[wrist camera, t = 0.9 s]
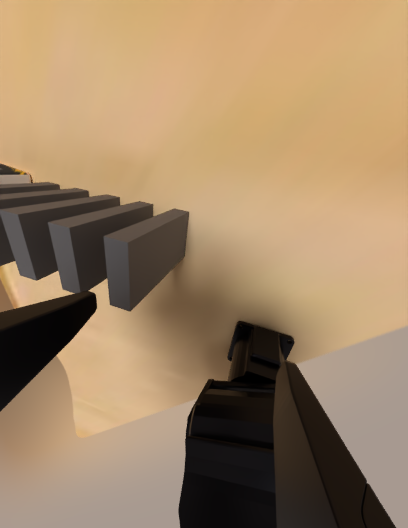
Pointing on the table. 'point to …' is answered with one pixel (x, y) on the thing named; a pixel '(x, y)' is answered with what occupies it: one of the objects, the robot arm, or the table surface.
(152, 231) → the domino
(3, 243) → the domino
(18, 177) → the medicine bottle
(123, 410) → the table surface
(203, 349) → the table surface
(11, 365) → the robot arm
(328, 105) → the table surface
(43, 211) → the domino
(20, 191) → the domino
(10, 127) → the table surface
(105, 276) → the domino
